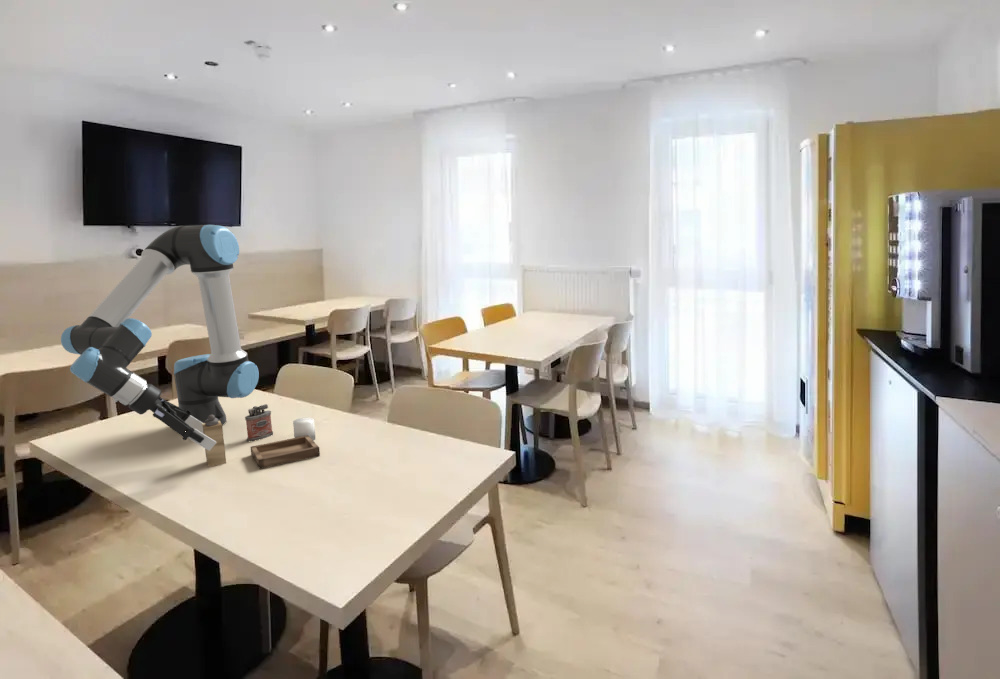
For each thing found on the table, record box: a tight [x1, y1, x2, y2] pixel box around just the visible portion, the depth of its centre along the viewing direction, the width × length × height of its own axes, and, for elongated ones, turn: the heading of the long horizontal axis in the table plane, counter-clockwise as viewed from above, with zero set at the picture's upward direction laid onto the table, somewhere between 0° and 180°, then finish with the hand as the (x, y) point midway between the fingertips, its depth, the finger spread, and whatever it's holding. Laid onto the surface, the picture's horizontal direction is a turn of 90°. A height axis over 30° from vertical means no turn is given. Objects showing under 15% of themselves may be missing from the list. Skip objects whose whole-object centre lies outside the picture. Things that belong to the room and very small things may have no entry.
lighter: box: [244, 403, 274, 442], centre depth 176 cm, size 8×3×10 cm, turn 143°
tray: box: [250, 435, 321, 470], centre depth 162 cm, size 12×16×2 cm
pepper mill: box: [202, 415, 227, 468], centre depth 157 cm, size 4×4×14 cm
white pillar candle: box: [292, 417, 316, 441], centre depth 174 cm, size 6×6×6 cm
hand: (210, 439), depth 156 cm, fingers open, 13 cm apart
